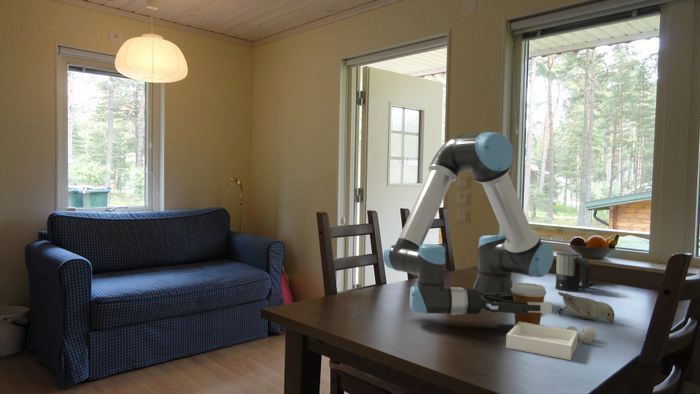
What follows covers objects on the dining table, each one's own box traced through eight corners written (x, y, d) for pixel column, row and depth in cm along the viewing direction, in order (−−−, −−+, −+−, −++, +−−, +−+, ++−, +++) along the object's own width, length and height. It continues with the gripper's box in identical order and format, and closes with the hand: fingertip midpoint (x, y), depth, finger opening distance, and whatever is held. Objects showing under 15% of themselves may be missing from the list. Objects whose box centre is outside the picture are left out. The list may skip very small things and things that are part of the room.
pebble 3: (581, 340, 127) (581, 327, 127) (582, 337, 130) (583, 324, 130) (595, 342, 125) (596, 329, 125) (596, 339, 128) (597, 326, 128)
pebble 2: (578, 343, 124) (578, 331, 124) (579, 340, 127) (579, 328, 127) (591, 346, 122) (592, 333, 122) (592, 343, 125) (593, 330, 125)
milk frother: (551, 289, 196) (552, 252, 195) (563, 284, 207) (565, 249, 207) (589, 295, 186) (590, 256, 186) (600, 289, 198) (601, 253, 198)
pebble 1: (564, 338, 128) (565, 326, 128) (566, 335, 131) (566, 324, 131) (577, 341, 126) (578, 329, 126) (579, 338, 129) (579, 326, 129)
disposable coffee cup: (508, 329, 135) (510, 287, 134) (510, 321, 144) (512, 281, 143) (544, 334, 131) (546, 291, 131) (545, 325, 140) (546, 284, 140)
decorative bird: (612, 326, 143) (613, 301, 143) (555, 316, 152) (556, 293, 152) (615, 322, 147) (615, 298, 147) (559, 313, 157) (559, 290, 157)
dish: (505, 347, 119) (506, 334, 119) (518, 333, 132) (519, 321, 131) (570, 360, 111) (571, 345, 111) (577, 343, 124) (578, 331, 124)
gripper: (456, 305, 148) (531, 308, 148) (472, 324, 127) (559, 327, 127) (457, 280, 148) (532, 283, 148) (473, 296, 127) (560, 299, 127)
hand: (544, 304), depth 137 cm, fingers closed on disposable coffee cup, 8 cm apart
